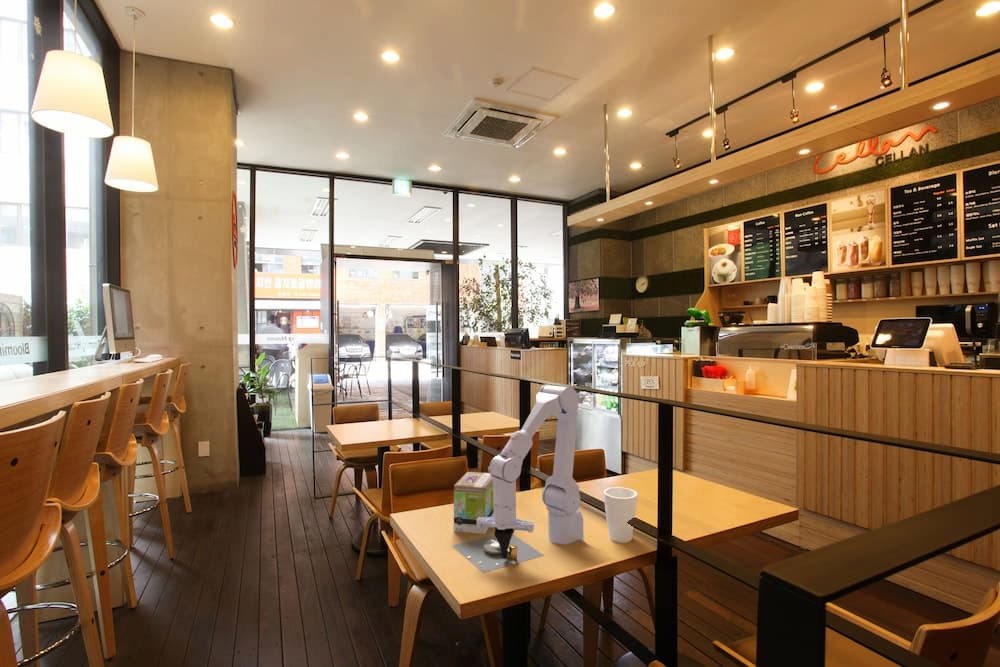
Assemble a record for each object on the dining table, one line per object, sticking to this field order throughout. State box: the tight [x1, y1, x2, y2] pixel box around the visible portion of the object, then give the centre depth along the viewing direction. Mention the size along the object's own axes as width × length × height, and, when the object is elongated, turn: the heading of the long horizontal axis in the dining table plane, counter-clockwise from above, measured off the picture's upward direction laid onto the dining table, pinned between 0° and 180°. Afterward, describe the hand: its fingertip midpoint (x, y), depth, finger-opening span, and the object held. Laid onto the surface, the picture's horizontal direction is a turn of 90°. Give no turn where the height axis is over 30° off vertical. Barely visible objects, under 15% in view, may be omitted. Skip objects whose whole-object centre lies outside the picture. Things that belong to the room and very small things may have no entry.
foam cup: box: [602, 486, 639, 544], centre depth 146 cm, size 10×9×13 cm
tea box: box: [453, 471, 494, 535], centre depth 156 cm, size 15×10×15 cm, turn 168°
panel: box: [451, 534, 545, 574], centre depth 137 cm, size 18×18×1 cm
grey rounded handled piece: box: [484, 538, 517, 560], centre depth 135 cm, size 12×7×3 cm, turn 37°
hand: (505, 556), depth 130 cm, fingers closed
